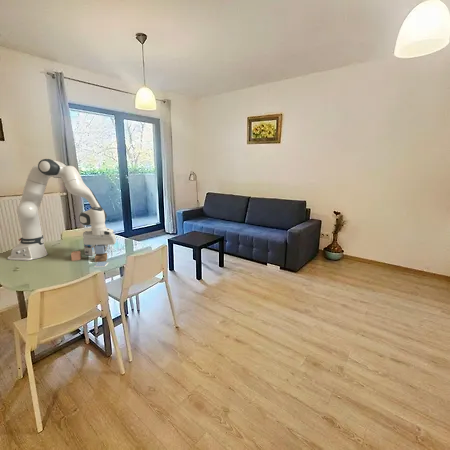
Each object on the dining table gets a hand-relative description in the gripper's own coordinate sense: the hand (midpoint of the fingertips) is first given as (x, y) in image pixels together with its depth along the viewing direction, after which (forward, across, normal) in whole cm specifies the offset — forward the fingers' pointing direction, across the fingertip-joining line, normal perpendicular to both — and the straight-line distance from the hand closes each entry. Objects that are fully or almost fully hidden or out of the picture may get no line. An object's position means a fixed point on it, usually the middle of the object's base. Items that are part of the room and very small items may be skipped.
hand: (100, 250), depth 174 cm
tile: (+7, +3, -9) cm, 12 cm away
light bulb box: (+7, -10, +14) cm, 19 cm away
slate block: (+2, 0, 0) cm, 2 cm away
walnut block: (+7, 0, 0) cm, 7 cm away
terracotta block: (+7, -17, +2) cm, 19 cm away
